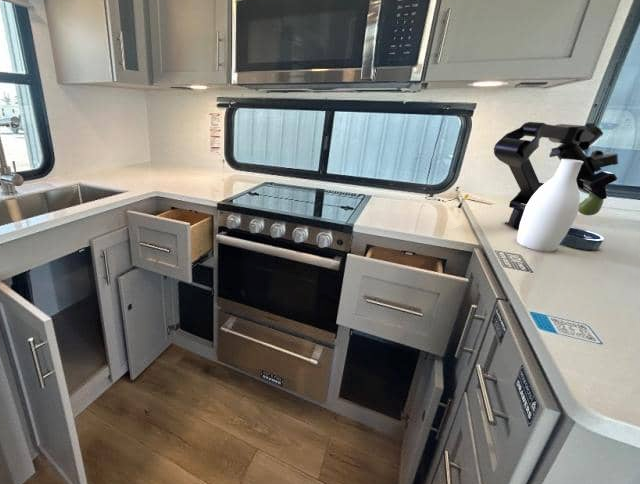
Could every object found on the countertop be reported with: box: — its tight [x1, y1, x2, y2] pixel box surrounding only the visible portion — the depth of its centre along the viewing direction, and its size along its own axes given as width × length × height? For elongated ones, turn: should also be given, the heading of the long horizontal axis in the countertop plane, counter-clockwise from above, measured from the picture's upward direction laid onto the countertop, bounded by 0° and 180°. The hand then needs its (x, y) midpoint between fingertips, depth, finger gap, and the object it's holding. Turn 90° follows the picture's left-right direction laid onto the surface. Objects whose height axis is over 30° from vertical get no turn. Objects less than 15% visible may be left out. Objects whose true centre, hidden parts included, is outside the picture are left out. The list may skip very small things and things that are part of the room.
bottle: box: [516, 159, 584, 253], centre depth 94 cm, size 11×11×25 cm
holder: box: [559, 226, 605, 251], centre depth 101 cm, size 11×11×4 cm
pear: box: [578, 192, 604, 216], centre depth 109 cm, size 6×5×10 cm
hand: (599, 196), depth 108 cm, fingers closed on pear, 4 cm apart
